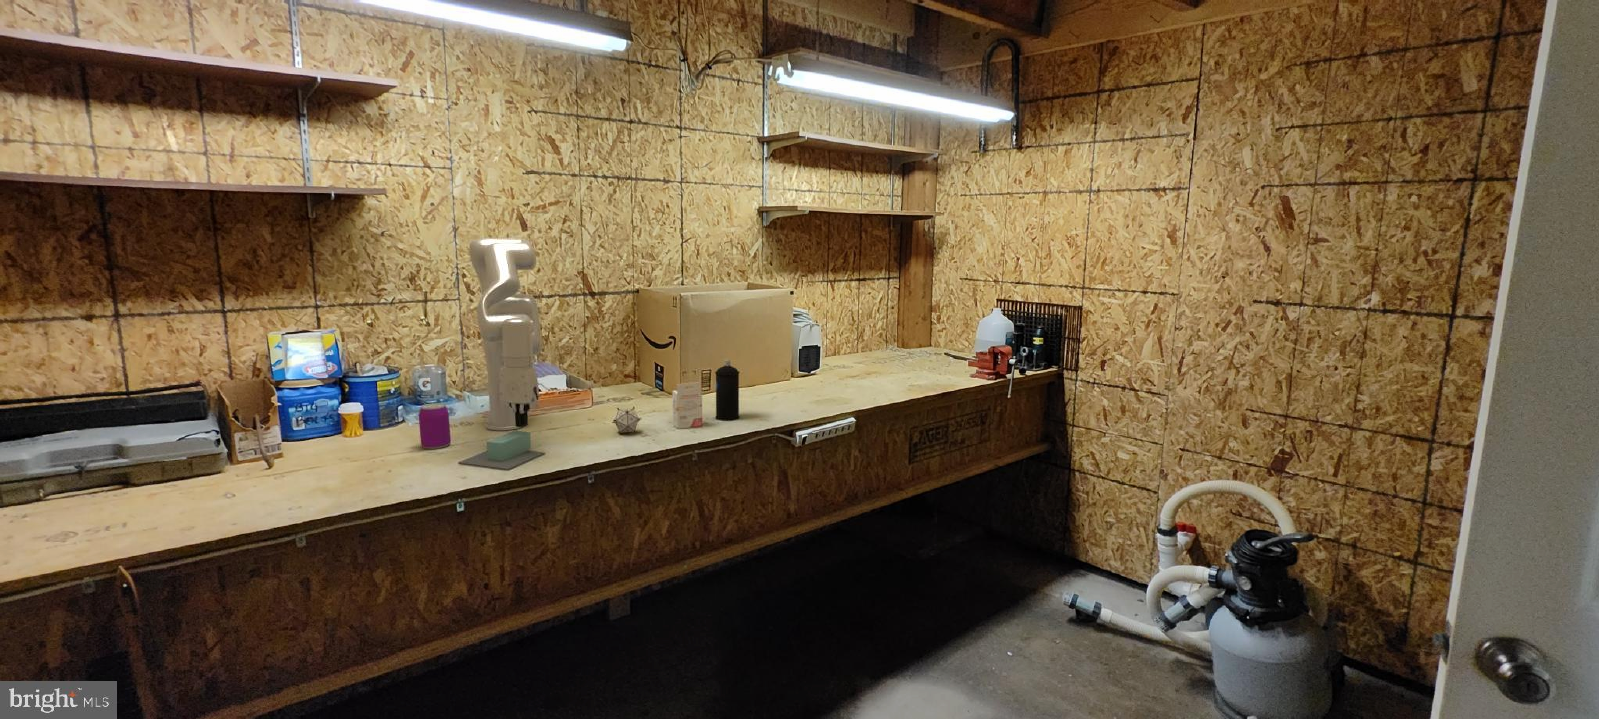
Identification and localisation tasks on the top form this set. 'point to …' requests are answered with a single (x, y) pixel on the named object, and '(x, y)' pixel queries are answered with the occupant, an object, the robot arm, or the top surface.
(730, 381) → the aerosol can
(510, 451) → the teal block
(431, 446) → the beverage can
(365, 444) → the top surface
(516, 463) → the mat
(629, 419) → the game die
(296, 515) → the top surface
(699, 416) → the ink cartridge box
